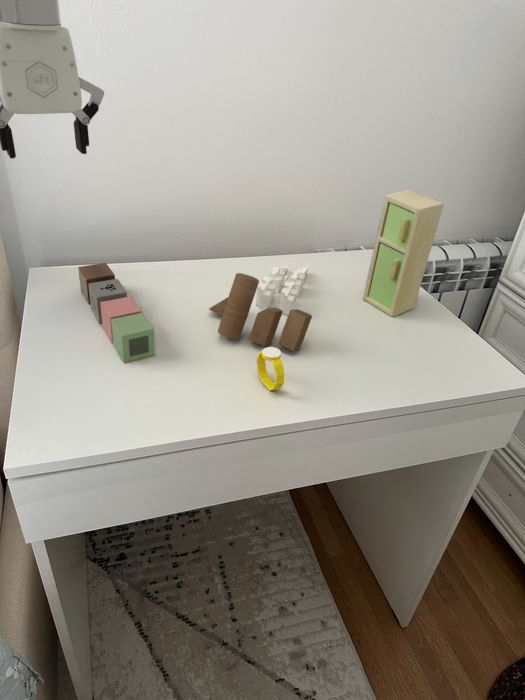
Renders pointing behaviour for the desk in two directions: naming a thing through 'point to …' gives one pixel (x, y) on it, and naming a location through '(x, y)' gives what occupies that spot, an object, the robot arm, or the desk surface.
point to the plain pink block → (116, 312)
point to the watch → (274, 357)
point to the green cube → (133, 337)
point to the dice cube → (104, 294)
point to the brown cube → (93, 277)
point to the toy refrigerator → (401, 251)
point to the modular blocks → (275, 284)
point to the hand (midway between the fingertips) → (47, 153)
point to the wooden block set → (258, 317)
